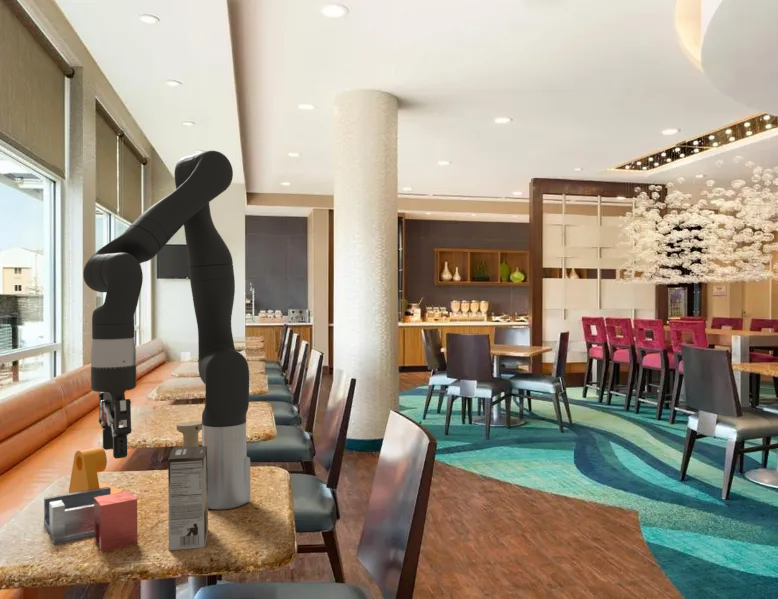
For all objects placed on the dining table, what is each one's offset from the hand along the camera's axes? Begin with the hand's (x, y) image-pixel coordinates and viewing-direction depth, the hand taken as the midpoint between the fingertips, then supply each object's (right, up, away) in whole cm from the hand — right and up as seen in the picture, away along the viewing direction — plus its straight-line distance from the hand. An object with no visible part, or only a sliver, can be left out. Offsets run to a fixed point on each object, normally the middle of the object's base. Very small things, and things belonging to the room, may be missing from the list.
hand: (114, 453), depth 112 cm
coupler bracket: (-10, -16, +8) cm, 21 cm away
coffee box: (+13, -16, +1) cm, 21 cm away
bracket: (-14, -17, +23) cm, 32 cm away
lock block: (0, -16, 0) cm, 16 cm away
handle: (+3, -17, +33) cm, 37 cm away
